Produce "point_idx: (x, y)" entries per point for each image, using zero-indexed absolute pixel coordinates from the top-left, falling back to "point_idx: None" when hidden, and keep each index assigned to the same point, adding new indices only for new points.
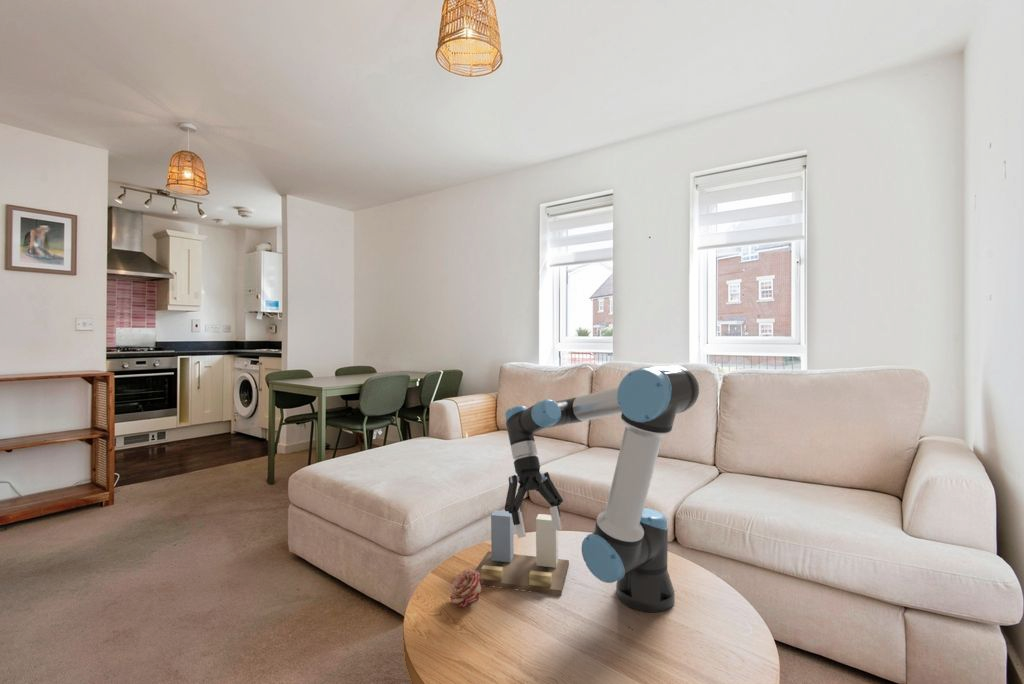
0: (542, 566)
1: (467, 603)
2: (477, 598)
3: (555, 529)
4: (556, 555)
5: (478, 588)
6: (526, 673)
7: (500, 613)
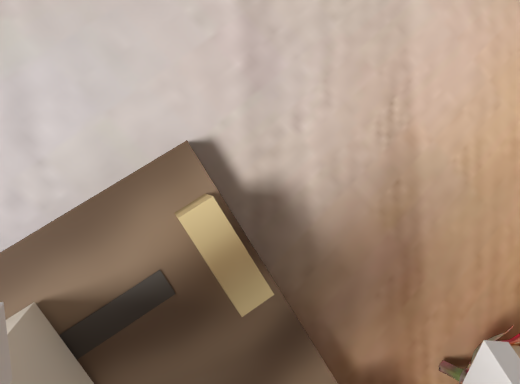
0: None
1: None
2: (449, 363)
3: (4, 371)
4: None
5: None
6: None
7: (440, 235)
